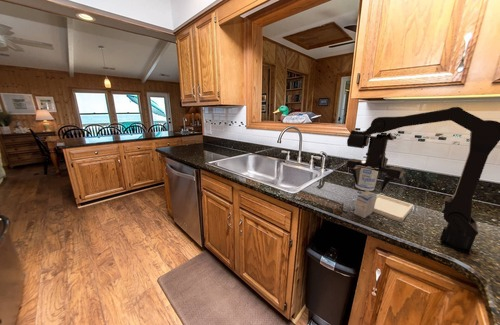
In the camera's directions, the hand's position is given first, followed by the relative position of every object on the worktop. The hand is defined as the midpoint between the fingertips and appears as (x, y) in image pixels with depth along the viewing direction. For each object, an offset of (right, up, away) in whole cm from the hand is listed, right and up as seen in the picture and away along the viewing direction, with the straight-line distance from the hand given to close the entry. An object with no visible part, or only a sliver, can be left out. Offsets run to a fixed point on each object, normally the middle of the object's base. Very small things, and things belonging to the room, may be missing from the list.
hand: (369, 188), depth 78 cm
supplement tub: (+16, -4, +30) cm, 34 cm away
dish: (+13, -10, +7) cm, 18 cm away
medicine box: (0, -11, +3) cm, 12 cm away
